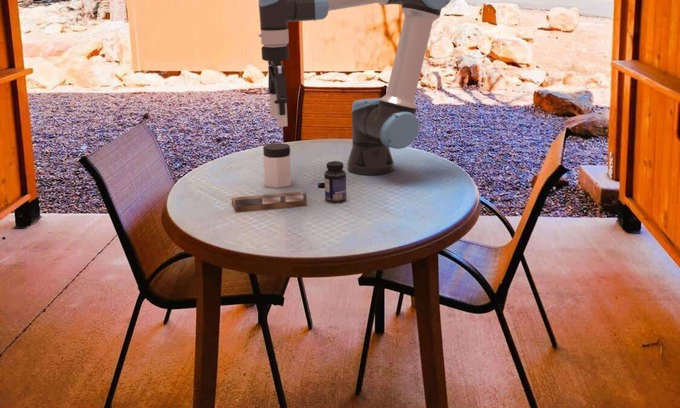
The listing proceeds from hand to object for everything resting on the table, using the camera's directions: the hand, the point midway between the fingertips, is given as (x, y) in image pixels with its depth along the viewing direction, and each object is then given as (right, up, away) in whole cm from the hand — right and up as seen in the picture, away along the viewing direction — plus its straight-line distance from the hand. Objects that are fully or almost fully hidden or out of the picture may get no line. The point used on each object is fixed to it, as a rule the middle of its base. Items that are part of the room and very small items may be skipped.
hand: (278, 121), depth 221 cm
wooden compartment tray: (-3, -23, +1) cm, 24 cm away
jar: (-2, -17, +20) cm, 26 cm away
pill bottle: (+16, -22, +3) cm, 28 cm away
